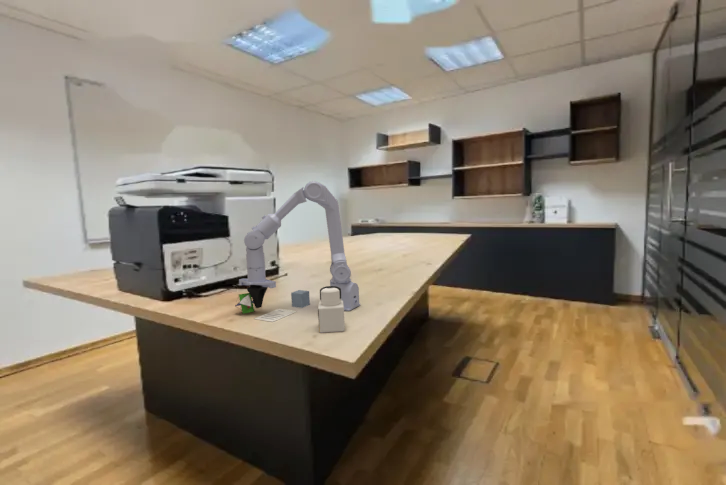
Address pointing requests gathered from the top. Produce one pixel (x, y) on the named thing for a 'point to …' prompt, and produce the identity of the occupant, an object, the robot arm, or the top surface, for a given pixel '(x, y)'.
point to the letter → (275, 315)
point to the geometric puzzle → (246, 303)
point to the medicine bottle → (331, 310)
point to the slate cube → (300, 298)
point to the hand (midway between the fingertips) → (258, 307)
